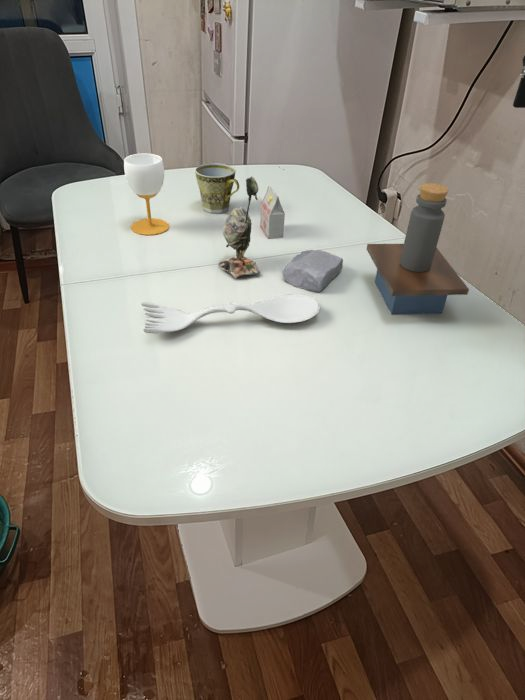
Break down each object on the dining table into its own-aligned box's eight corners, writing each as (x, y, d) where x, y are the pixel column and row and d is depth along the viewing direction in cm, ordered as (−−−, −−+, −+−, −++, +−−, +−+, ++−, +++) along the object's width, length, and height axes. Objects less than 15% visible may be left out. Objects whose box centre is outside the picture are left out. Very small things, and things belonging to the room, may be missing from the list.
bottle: (422, 256, 100) (441, 181, 91) (436, 271, 96) (458, 193, 86) (394, 258, 99) (411, 182, 90) (407, 273, 95) (426, 194, 85)
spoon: (142, 315, 93) (140, 299, 91) (310, 300, 100) (311, 284, 97) (145, 345, 86) (142, 328, 84) (324, 326, 93) (326, 310, 91)
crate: (420, 281, 107) (427, 255, 103) (442, 313, 98) (450, 286, 94) (374, 281, 106) (379, 255, 102) (391, 314, 97) (397, 287, 93)
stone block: (278, 288, 106) (323, 294, 101) (276, 267, 103) (321, 271, 98) (304, 267, 114) (346, 271, 109) (302, 246, 112) (345, 250, 107)
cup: (123, 231, 120) (113, 162, 110) (143, 216, 127) (136, 150, 117) (157, 238, 118) (150, 168, 108) (176, 223, 125) (171, 156, 115)
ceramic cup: (188, 208, 132) (186, 169, 126) (216, 198, 138) (215, 160, 132) (224, 223, 126) (224, 183, 120) (251, 212, 132) (252, 173, 126)
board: (432, 248, 106) (433, 243, 105) (467, 294, 92) (469, 289, 91) (366, 249, 105) (367, 243, 104) (391, 296, 90) (393, 290, 90)
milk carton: (274, 225, 126) (276, 185, 120) (283, 237, 121) (286, 196, 115) (260, 226, 125) (261, 186, 119) (268, 238, 120) (270, 197, 114)
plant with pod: (251, 253, 114) (253, 162, 102) (262, 278, 105) (266, 183, 93) (215, 255, 112) (213, 164, 100) (223, 282, 104) (222, 185, 91)
